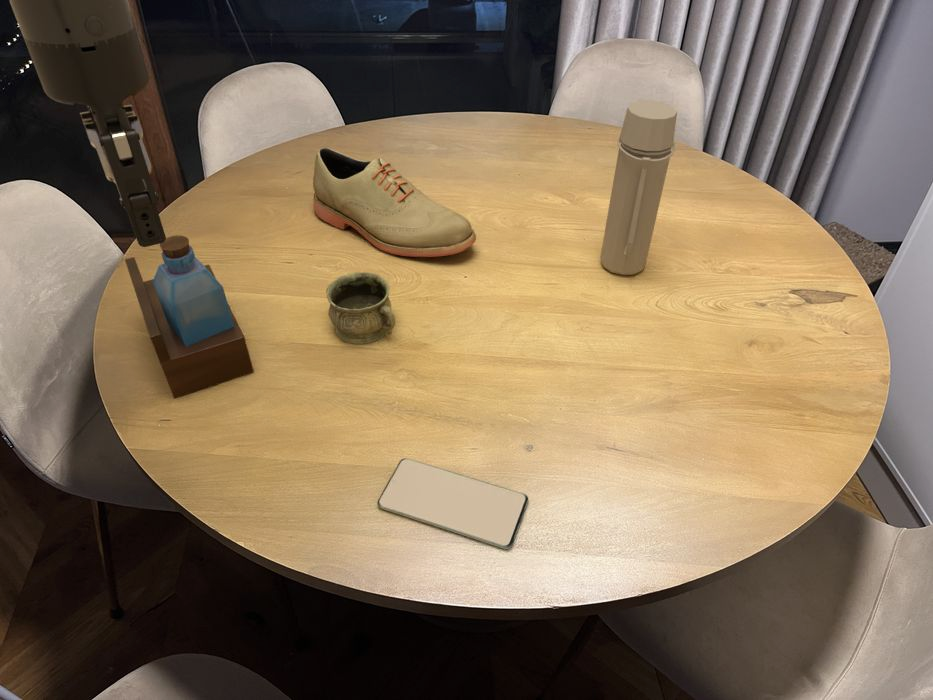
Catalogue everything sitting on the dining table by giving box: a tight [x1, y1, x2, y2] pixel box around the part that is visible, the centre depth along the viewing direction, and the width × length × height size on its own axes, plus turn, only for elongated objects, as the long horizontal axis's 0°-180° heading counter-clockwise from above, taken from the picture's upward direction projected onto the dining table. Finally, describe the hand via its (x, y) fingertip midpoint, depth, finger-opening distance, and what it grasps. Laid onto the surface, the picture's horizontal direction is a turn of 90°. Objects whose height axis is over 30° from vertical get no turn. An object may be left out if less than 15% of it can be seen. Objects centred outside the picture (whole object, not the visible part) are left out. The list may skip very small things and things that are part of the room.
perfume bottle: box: [153, 234, 234, 347], centre depth 81 cm, size 6×6×12 cm
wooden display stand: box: [124, 256, 254, 399], centre depth 88 cm, size 18×10×10 cm, turn 29°
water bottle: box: [599, 99, 678, 276], centre depth 98 cm, size 9×8×25 cm
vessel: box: [325, 271, 396, 345], centre depth 93 cm, size 12×9×6 cm
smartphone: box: [377, 457, 529, 550], centre depth 72 cm, size 7×1×15 cm
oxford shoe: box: [312, 147, 477, 258], centre depth 109 cm, size 11×32×12 cm, turn 61°
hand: (143, 221), depth 60 cm, fingers open, 8 cm apart
